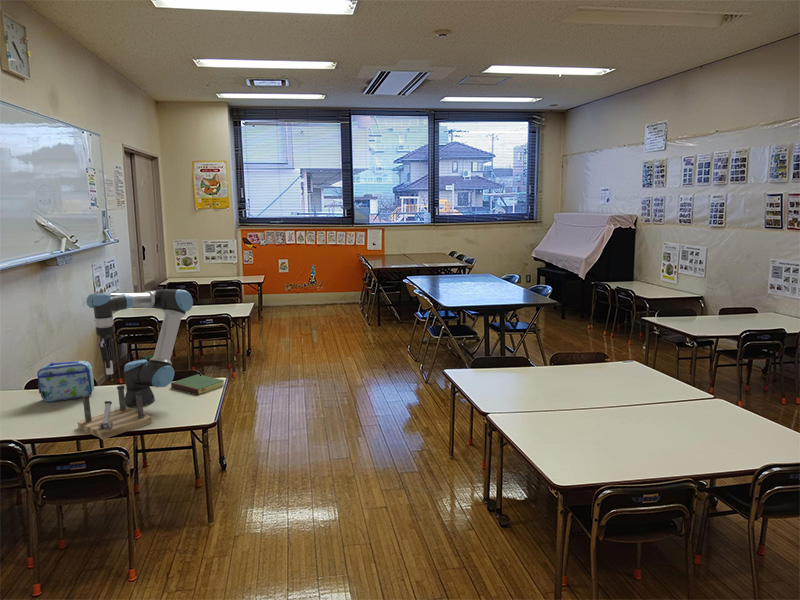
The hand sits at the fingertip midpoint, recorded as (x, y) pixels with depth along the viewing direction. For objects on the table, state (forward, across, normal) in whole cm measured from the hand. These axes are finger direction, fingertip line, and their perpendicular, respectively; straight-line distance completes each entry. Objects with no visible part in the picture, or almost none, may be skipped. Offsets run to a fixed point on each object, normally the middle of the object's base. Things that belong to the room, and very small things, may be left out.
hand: (109, 373), depth 266 cm
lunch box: (+26, -48, -40) cm, 68 cm away
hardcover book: (+27, -53, +29) cm, 66 cm away
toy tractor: (+26, -72, -4) cm, 77 cm away
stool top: (+26, 0, 0) cm, 26 cm away
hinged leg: (+18, +8, 0) cm, 20 cm away
